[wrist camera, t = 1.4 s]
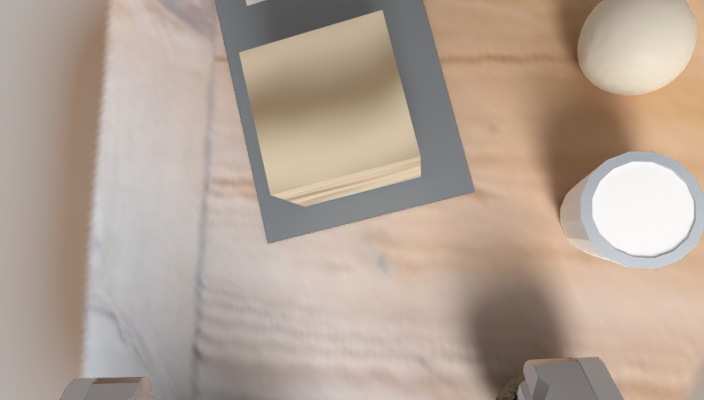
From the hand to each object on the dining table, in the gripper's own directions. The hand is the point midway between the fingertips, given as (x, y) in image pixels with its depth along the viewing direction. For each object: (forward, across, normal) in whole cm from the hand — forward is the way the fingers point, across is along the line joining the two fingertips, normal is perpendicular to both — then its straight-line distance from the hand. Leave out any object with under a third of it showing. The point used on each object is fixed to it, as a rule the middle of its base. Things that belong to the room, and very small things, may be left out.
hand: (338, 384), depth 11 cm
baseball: (+29, -20, +3) cm, 35 cm away
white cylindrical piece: (+22, -18, +12) cm, 31 cm away
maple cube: (+28, -1, +8) cm, 29 cm away
